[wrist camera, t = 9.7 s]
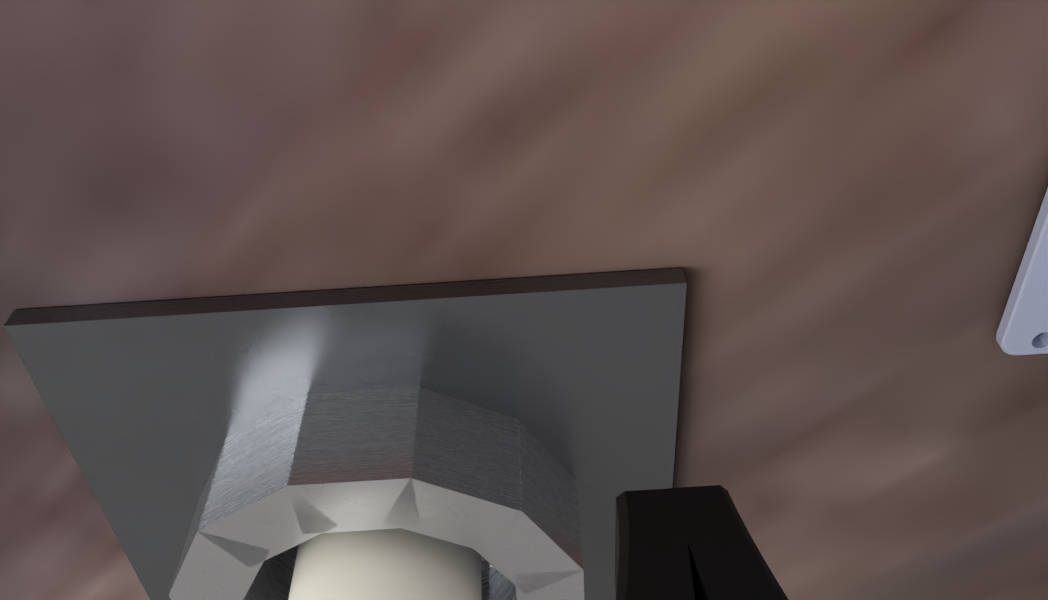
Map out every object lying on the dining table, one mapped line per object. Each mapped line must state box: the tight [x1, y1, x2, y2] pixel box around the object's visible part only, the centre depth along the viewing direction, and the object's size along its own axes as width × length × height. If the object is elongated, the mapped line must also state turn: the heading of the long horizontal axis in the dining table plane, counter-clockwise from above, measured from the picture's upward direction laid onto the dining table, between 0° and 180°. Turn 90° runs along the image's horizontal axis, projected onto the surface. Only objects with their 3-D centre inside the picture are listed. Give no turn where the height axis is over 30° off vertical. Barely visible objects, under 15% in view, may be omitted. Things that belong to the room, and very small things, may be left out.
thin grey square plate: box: [4, 268, 687, 600], centre depth 25 cm, size 16×16×4 cm
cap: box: [288, 528, 482, 600], centre depth 24 cm, size 5×5×5 cm
